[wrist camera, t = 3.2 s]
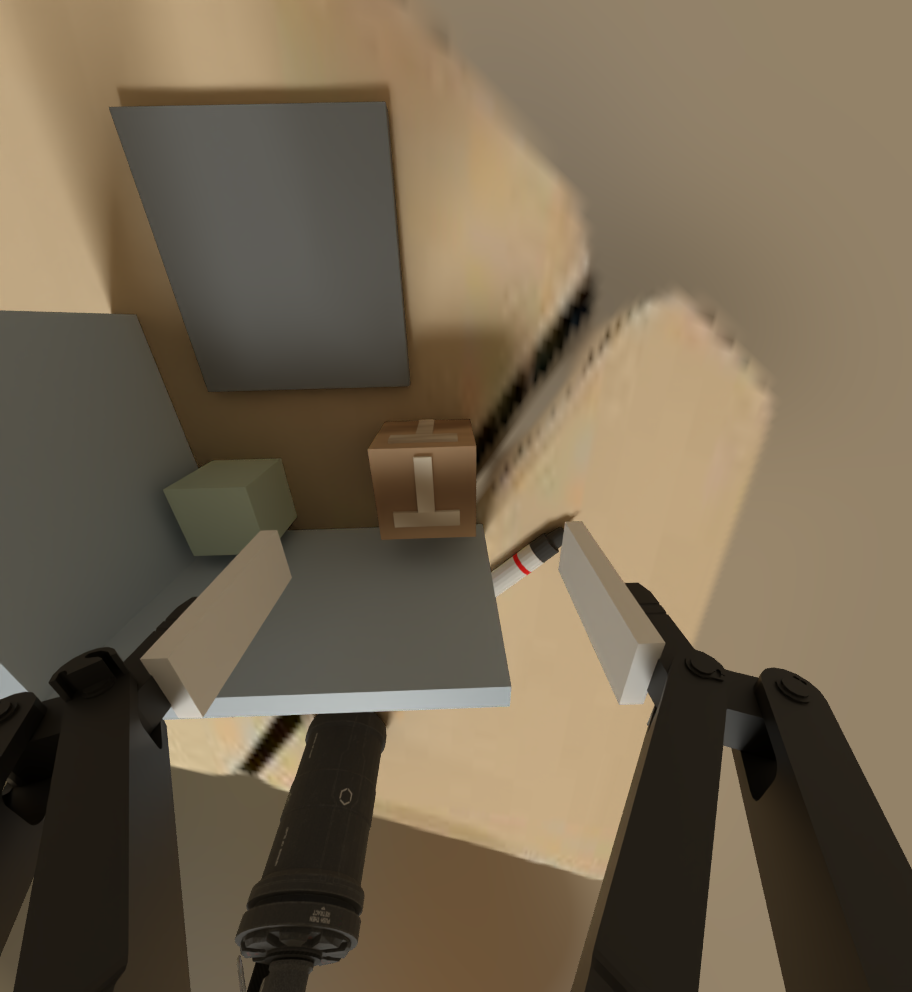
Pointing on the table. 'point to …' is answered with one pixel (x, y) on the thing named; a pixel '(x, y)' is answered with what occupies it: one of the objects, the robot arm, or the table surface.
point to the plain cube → (231, 504)
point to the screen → (180, 575)
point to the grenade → (315, 858)
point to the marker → (526, 560)
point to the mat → (276, 239)
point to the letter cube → (424, 479)
